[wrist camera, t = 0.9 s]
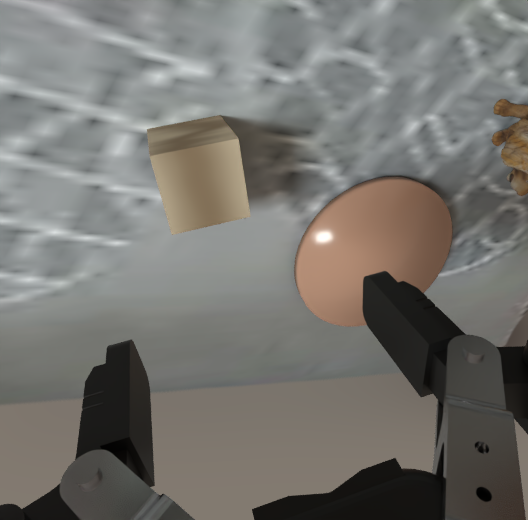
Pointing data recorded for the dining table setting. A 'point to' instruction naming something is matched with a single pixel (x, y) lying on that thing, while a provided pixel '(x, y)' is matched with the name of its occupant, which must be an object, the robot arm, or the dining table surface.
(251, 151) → the dining table surface
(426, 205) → the dish
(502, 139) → the lion figurine
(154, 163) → the birch block
